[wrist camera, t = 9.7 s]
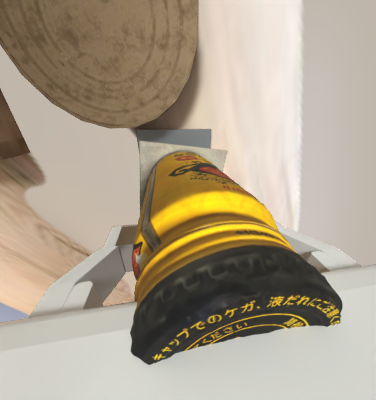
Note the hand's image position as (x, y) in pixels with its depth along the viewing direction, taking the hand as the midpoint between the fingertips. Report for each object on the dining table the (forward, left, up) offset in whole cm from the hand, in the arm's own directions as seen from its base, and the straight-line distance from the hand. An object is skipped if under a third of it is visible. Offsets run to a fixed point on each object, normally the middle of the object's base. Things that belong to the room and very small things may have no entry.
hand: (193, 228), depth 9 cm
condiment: (0, 0, -6) cm, 6 cm away
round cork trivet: (-13, -6, -14) cm, 20 cm away
